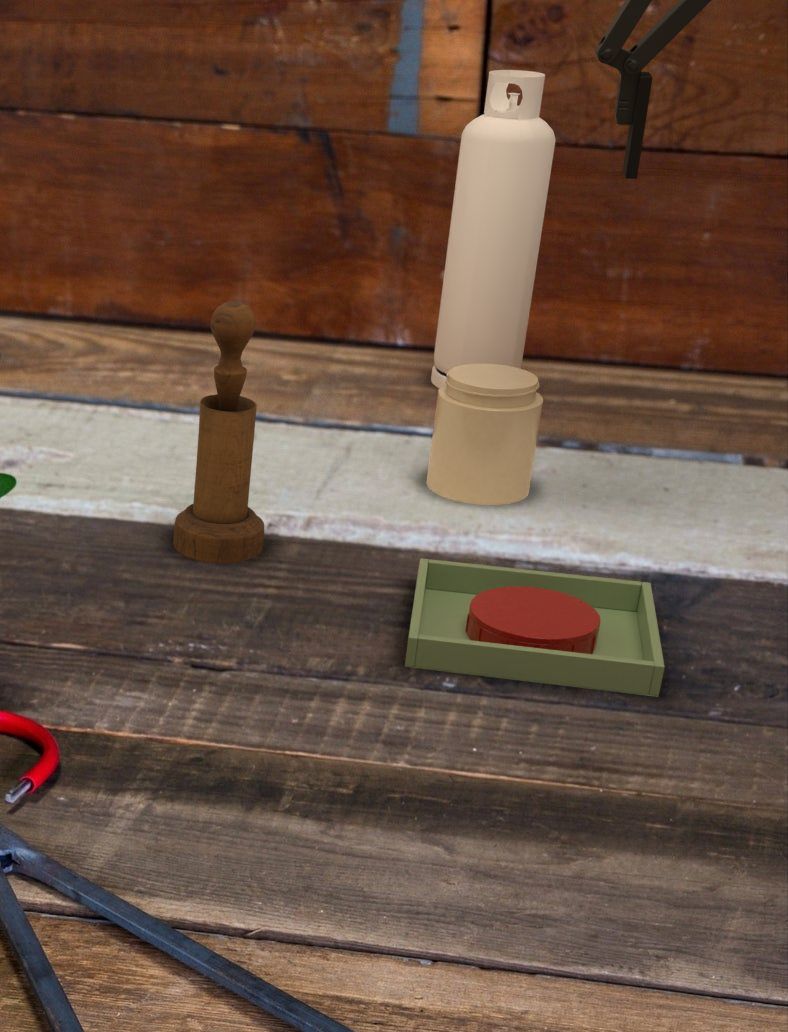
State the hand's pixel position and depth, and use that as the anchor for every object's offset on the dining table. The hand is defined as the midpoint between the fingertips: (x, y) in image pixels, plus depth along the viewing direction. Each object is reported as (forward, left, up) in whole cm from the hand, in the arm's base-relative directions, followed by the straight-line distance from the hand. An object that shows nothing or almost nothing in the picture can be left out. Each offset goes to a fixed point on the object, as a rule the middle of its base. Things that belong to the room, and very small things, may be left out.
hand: (733, 179), depth 114 cm
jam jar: (+14, -6, -26) cm, 30 cm away
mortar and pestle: (+32, +12, -26) cm, 43 cm away
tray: (+10, +22, -26) cm, 36 cm away
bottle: (+15, -35, -26) cm, 46 cm away
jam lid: (+10, +22, -24) cm, 34 cm away
